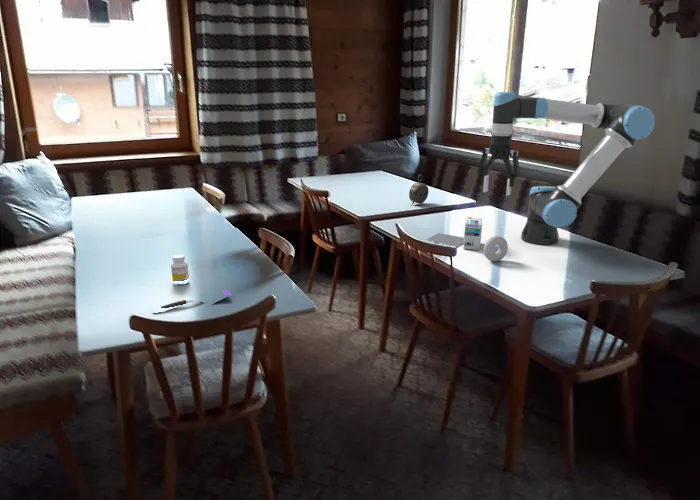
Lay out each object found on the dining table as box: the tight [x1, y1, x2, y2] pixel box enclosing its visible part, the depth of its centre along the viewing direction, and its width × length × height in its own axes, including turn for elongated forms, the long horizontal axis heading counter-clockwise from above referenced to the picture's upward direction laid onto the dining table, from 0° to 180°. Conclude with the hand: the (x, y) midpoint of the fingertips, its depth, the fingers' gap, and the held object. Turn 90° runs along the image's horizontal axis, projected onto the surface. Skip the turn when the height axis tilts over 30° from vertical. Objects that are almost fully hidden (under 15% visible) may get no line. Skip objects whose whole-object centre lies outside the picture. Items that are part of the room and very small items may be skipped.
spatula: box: [160, 289, 232, 308], centre depth 174 cm, size 24×7×2 cm, turn 120°
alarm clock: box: [408, 174, 429, 206], centre depth 294 cm, size 11×5×16 cm, turn 130°
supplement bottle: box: [170, 254, 190, 282], centre depth 190 cm, size 5×5×10 cm
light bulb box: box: [462, 216, 483, 251], centre depth 228 cm, size 11×7×11 cm, turn 168°
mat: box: [425, 232, 464, 248], centre depth 236 cm, size 15×16×1 cm
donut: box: [483, 235, 509, 262], centre depth 211 cm, size 10×4×10 cm, turn 109°
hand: (496, 193), depth 218 cm, fingers open, 9 cm apart
